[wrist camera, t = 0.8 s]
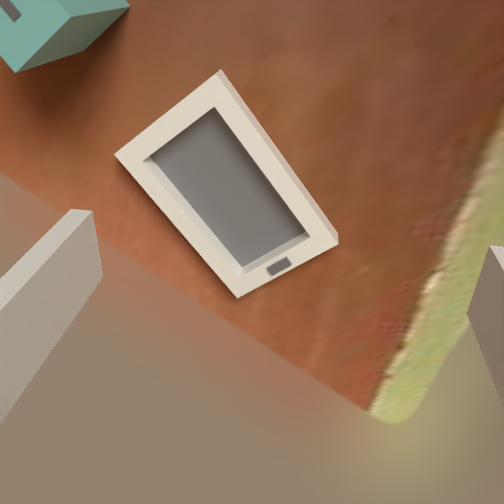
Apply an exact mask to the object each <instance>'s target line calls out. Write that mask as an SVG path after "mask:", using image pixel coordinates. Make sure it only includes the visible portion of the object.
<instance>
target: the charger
mask: <svg viewBox="0 0 504 504" xmlns="http://www.w3.org/2000/svg"><path fill="white" fill-rule="evenodd" d="M129 7H130V5H129V4H128V3H127V1H126V0H0V56H1V57H2V58H3V59H4V61H5V62H6V63H7V64H8V65H9V66H10V67H11V69H12V70H13V71H14V72H15V73H18V72H21V71H24V70H27V69H30V68H33V67H36V66H39V65H42V64H45V63H48V62H51V61H54V60H58V59H61V58H64V57H67V56H70V55H73V54H76V53H79V52H82V51H84V50H85V49H86V48H87V47H88V46H89V45H90V44H91V43H93V42H94V41H95V40H96V39H97V38H98V37H99V36H100V35H101V34H102V33H103V32H104V31H105V30H106V29H107V28H108V27H109V26H110V25H111V24H112V23H113V22H114V21H116V20H117V19H118V18H119V17H120V16H121V15H122V14H123V13H124V12H125V11H126V10H127V9H128V8H129Z"/></svg>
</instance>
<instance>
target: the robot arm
mask: <svg viewBox="0 0 504 504" xmlns="http://www.w3.org/2000/svg"><path fill="white" fill-rule="evenodd" d="M102 278H103V273H102V267H101V261H100V255H99V249H98V243H97V236H96V230H95V224H94V218H93V212H92V211H88V210H76V209H71V210H70V211H69V212H68V213H66V214H65V215H64V216H63V217H62V218H61V219H60V220H59V221H58V223H57V224H55V225H54V226H53V227H52V228H51V230H50V231H48V232H47V233H46V234H45V235H44V236H43V237H42V238H41V239H40V240H39V241H38V242H37V243H36V244H35V245H34V246H33V247H32V248H31V249H30V250H29V251H28V252H27V253H26V254H25V255H24V256H23V257H22V258H21V259H20V260H19V261H18V262H17V263H16V264H15V265H14V266H13V267H12V268H11V269H10V270H9V271H8V272H7V273H6V274H5V275H4V276H3V277H2V278H1V279H0V422H2V421H3V420H4V419H5V417H6V415H7V414H8V413H9V411H10V410H11V409H12V407H13V406H14V404H15V403H16V401H17V400H18V398H19V397H20V396H21V394H22V393H23V391H24V390H25V388H26V387H27V386H28V384H29V383H30V381H31V380H32V378H33V377H34V376H35V374H36V373H37V371H38V370H39V368H40V367H41V365H42V364H43V363H44V361H45V360H46V358H47V357H48V355H49V354H50V353H51V351H52V350H53V348H54V347H55V345H56V344H57V342H58V341H59V340H60V338H61V337H62V335H63V334H64V333H65V331H66V330H67V328H68V327H69V325H70V324H71V322H72V321H73V320H74V318H75V317H76V315H77V314H78V312H79V311H80V310H81V308H82V307H83V305H84V304H85V302H86V301H87V299H88V298H89V297H90V295H91V294H92V292H93V291H94V289H95V288H96V287H97V285H98V284H99V282H100V281H101V279H102ZM467 316H468V318H469V321H470V323H471V326H472V328H473V331H474V333H475V336H476V338H477V341H478V343H479V346H480V348H481V351H482V354H483V356H484V359H485V361H486V363H487V366H488V369H489V371H490V374H491V376H492V379H493V382H494V384H495V387H496V389H497V392H498V394H499V397H500V399H501V402H502V404H503V407H504V247H501V246H489V249H488V252H487V255H486V258H485V261H484V264H483V267H482V270H481V273H480V276H479V279H478V282H477V285H476V288H475V291H474V294H473V297H472V299H471V302H470V305H469V308H468V311H467Z"/></svg>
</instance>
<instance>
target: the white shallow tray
mask: <svg viewBox="0 0 504 504" xmlns="http://www.w3.org/2000/svg"><path fill="white" fill-rule="evenodd" d="M114 155H115V156H116V157H117V158H118V160H119V161H120V162H121V163H122V164H123V165H124V167H125V168H126V169H127V170H128V171H129V172H130V174H131V175H132V176H133V177H134V178H135V179H136V181H137V182H138V183H139V184H140V185H141V186H142V188H143V189H144V190H145V191H146V192H147V193H148V195H149V196H150V197H151V198H152V199H153V200H154V202H155V203H156V204H157V205H158V206H159V207H160V209H161V210H162V211H163V212H164V213H165V214H166V216H167V217H168V218H169V219H170V220H171V221H172V223H173V224H174V225H175V226H176V227H177V228H178V230H179V231H180V232H181V233H182V234H183V235H184V237H185V238H186V239H187V240H188V241H189V243H190V244H191V245H192V246H193V247H194V248H195V250H196V251H197V252H198V253H199V254H200V255H201V257H202V258H203V259H204V260H205V261H206V262H207V264H208V265H209V266H210V267H211V268H212V269H213V271H214V272H215V273H216V274H217V275H218V276H219V278H220V279H221V280H222V281H223V282H224V283H225V285H226V286H227V287H228V288H229V289H230V290H231V292H232V293H233V294H234V295H235V296H236V297H237V298H239V297H241V296H242V295H244V294H246V293H248V292H250V291H252V290H254V289H255V288H257V287H259V286H261V285H263V284H265V283H267V282H268V281H270V280H272V279H274V278H276V277H278V276H280V275H282V274H283V273H285V272H287V271H289V270H291V269H293V268H295V267H296V266H298V265H300V264H302V263H304V262H306V261H308V260H309V259H311V258H313V257H315V256H317V255H319V254H321V253H322V252H324V251H326V250H328V249H330V248H332V247H334V246H336V245H337V244H338V233H337V232H336V230H335V229H334V227H333V226H332V225H331V223H330V222H329V220H328V219H327V218H326V216H325V215H324V213H323V212H322V210H321V209H320V208H319V206H318V205H317V203H316V202H315V201H314V199H313V198H312V196H311V195H310V194H309V192H308V191H307V189H306V188H305V187H304V185H303V184H302V182H301V181H300V180H299V178H298V177H297V175H296V174H295V173H294V171H293V170H292V168H291V167H290V166H289V164H288V163H287V161H286V160H285V159H284V157H283V156H282V154H281V153H280V151H279V150H278V149H277V147H276V146H275V144H274V143H273V142H272V140H271V139H270V137H269V136H268V135H267V133H266V132H265V130H264V129H263V128H262V126H261V125H260V123H259V122H258V121H257V119H256V118H255V116H254V115H253V114H252V112H251V111H250V109H249V108H248V107H247V105H246V104H245V102H244V101H243V100H242V98H241V97H240V95H239V94H238V92H237V91H236V90H235V88H234V87H233V85H232V84H231V83H230V81H229V80H228V78H227V77H226V76H225V74H224V73H223V71H222V70H221V69H220V70H219V71H218V72H216V73H215V74H214V75H213V76H211V77H210V78H209V79H208V80H206V81H205V82H204V83H203V84H201V85H200V86H199V87H198V88H196V89H195V90H194V91H193V92H191V93H190V94H189V95H187V96H186V97H185V98H184V99H182V100H181V101H180V102H179V103H177V104H176V105H175V106H174V107H172V108H171V109H170V110H169V111H167V112H166V113H165V114H164V115H162V116H161V117H160V118H159V119H157V120H156V121H155V122H154V123H152V124H151V125H150V126H148V127H147V128H146V129H145V130H143V131H142V132H141V133H140V134H138V135H137V136H136V137H135V138H133V139H132V140H131V141H130V142H128V143H127V144H126V145H125V146H123V147H122V148H121V149H120V150H119V151H117V152H116V153H115V154H114Z"/></svg>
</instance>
